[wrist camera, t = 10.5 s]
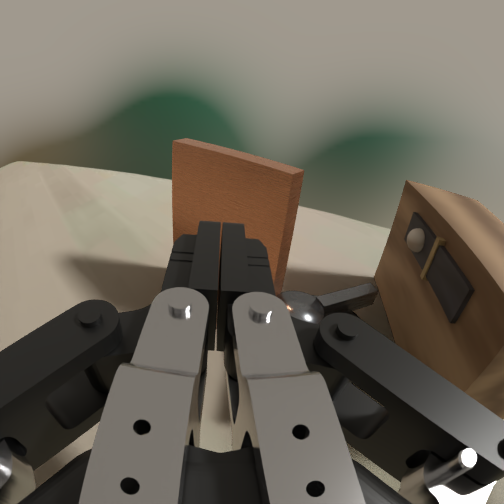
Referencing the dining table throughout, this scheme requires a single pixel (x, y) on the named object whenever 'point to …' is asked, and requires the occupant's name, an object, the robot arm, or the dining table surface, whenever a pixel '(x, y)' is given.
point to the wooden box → (448, 289)
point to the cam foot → (251, 214)
